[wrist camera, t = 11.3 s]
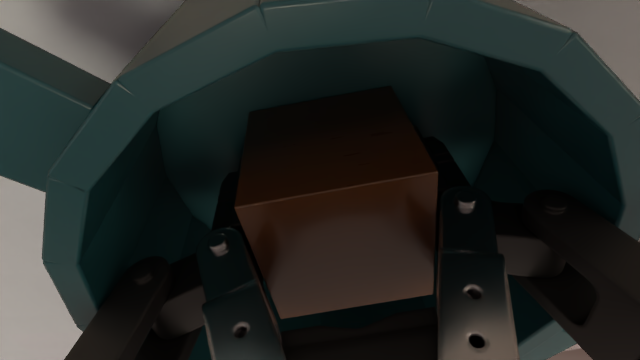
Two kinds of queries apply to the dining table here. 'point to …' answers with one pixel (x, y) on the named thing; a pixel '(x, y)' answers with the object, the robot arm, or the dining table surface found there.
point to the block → (338, 203)
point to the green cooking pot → (295, 87)
